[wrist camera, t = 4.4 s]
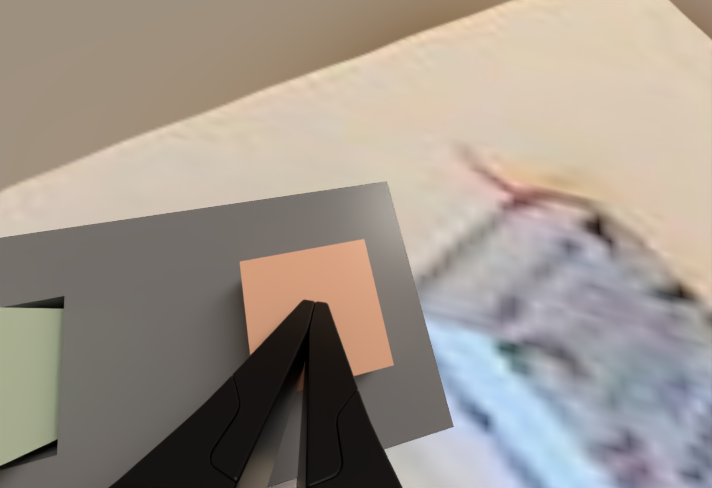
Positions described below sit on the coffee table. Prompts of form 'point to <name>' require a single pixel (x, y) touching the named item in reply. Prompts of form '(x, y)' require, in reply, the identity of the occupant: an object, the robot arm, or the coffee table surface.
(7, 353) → the sage key
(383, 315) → the keypad
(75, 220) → the coffee table surface
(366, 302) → the terracotta key
